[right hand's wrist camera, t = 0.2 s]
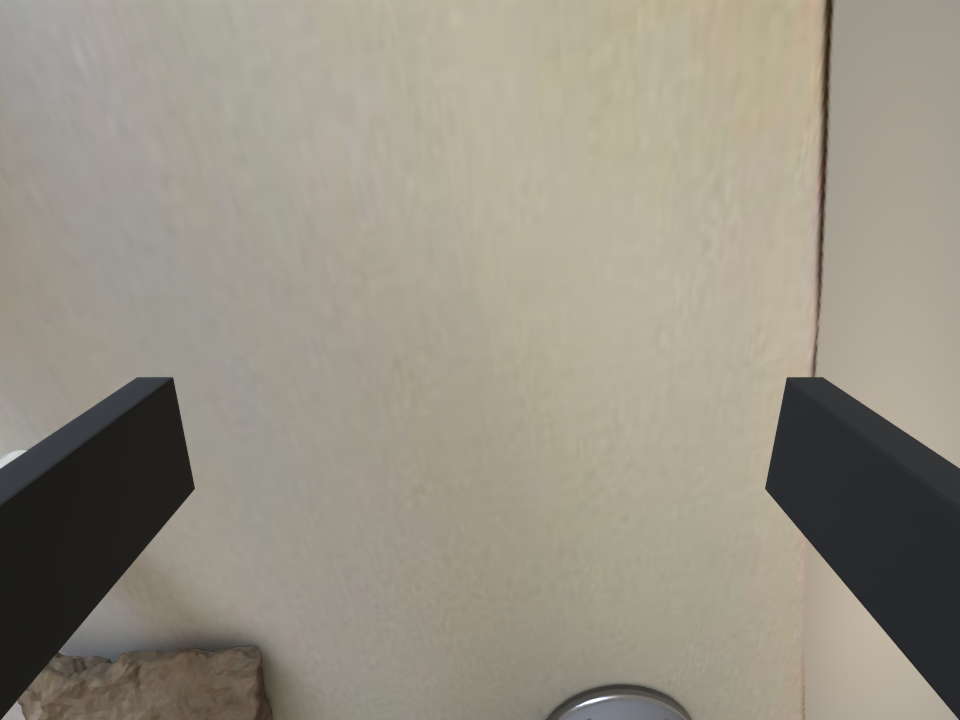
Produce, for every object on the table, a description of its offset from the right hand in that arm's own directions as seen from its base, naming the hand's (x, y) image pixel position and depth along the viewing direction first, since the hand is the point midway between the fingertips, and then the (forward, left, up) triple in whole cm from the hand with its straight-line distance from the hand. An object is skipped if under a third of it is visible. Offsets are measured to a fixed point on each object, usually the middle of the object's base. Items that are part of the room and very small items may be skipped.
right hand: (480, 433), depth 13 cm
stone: (-42, +30, -29) cm, 59 cm away
